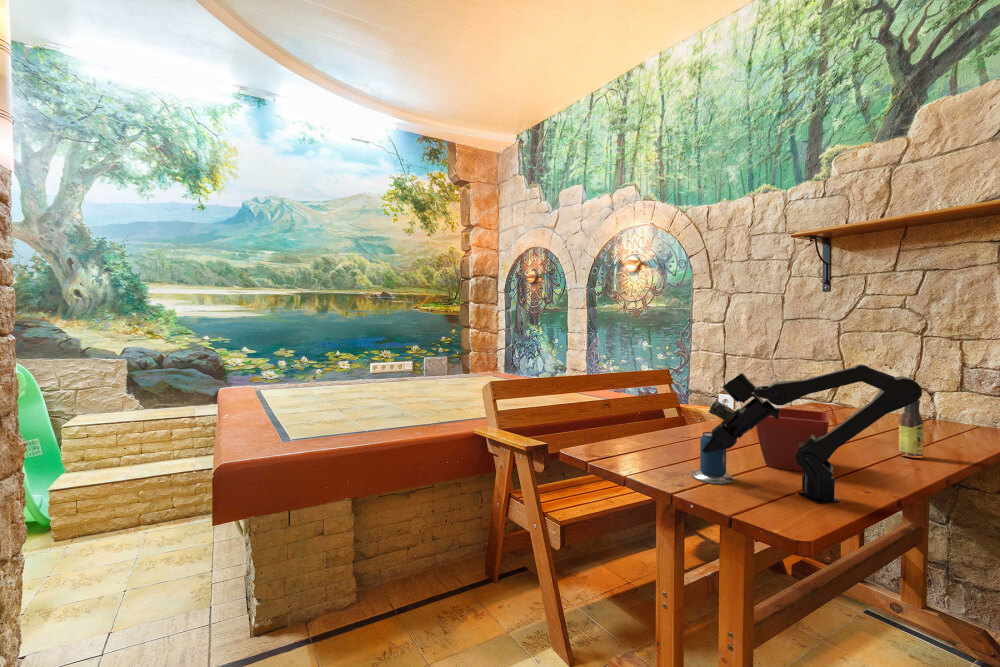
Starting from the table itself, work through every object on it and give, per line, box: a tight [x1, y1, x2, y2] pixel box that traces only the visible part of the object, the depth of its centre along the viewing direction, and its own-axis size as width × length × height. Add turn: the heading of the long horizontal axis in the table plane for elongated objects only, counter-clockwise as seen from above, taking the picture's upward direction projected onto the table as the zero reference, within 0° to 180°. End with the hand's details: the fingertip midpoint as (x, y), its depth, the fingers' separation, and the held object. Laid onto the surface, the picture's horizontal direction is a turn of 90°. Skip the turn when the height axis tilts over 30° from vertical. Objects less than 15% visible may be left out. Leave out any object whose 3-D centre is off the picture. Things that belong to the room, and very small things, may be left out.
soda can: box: [699, 431, 727, 478], centre depth 131 cm, size 7×7×12 cm
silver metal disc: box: [690, 468, 734, 486], centre depth 131 cm, size 11×11×1 cm
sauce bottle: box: [898, 399, 925, 456], centre depth 152 cm, size 7×6×20 cm
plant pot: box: [755, 407, 830, 473], centre depth 143 cm, size 19×19×17 cm
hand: (707, 448), depth 131 cm, fingers open, 9 cm apart
